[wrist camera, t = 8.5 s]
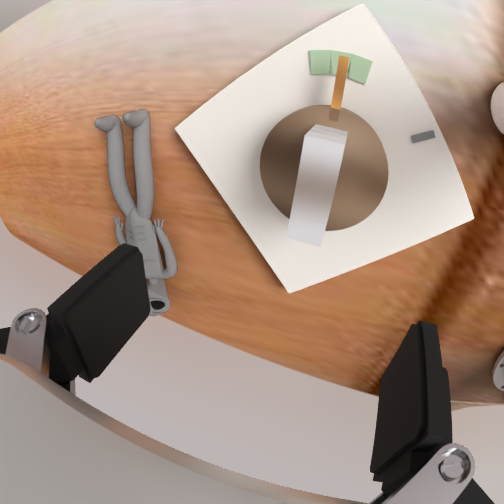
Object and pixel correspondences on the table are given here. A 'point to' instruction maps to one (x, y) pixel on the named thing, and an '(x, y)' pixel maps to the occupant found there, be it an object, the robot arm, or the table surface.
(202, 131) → the white square board
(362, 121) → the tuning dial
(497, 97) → the white cup
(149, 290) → the alien figure
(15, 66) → the table surface
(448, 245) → the table surface
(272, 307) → the table surface
